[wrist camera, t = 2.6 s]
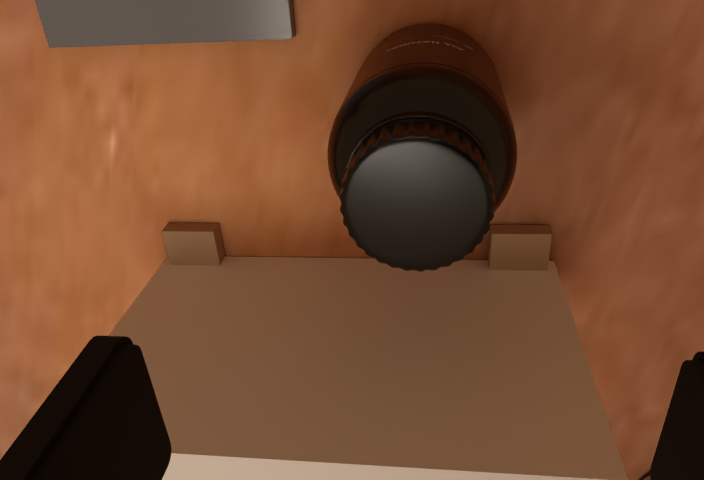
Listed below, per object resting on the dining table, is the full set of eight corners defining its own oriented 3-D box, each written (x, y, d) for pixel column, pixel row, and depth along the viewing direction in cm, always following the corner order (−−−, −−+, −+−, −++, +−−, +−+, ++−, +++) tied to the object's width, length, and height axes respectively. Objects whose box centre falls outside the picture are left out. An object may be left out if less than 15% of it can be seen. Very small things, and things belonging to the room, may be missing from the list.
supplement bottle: (445, -13, 26) (454, 45, 15) (525, 111, 28) (579, 234, 18) (325, 79, 28) (263, 182, 18) (406, 186, 30) (393, 331, 20)
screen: (558, 225, 31) (640, 434, 18) (546, 317, 34) (610, 549, 21) (160, 222, 33) (6, 403, 21) (181, 307, 36) (57, 507, 24)
